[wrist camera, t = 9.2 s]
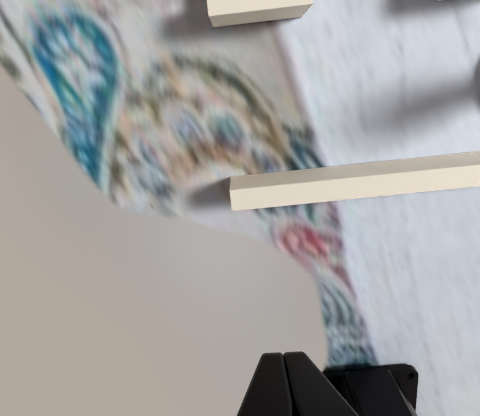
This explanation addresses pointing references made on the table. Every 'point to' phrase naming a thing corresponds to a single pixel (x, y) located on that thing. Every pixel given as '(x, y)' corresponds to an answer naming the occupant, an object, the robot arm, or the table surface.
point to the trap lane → (345, 176)
